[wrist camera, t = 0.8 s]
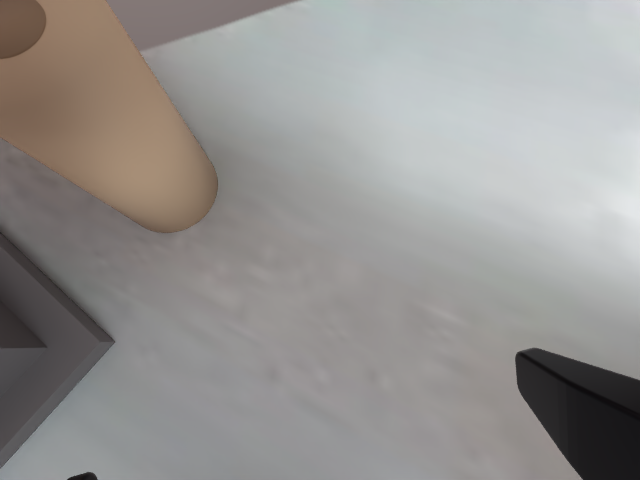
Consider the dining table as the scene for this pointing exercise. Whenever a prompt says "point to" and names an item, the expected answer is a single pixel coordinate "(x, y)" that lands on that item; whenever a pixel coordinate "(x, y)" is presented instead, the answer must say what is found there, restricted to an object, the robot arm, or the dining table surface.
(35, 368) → the roll caddy
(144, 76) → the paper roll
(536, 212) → the dining table surface
